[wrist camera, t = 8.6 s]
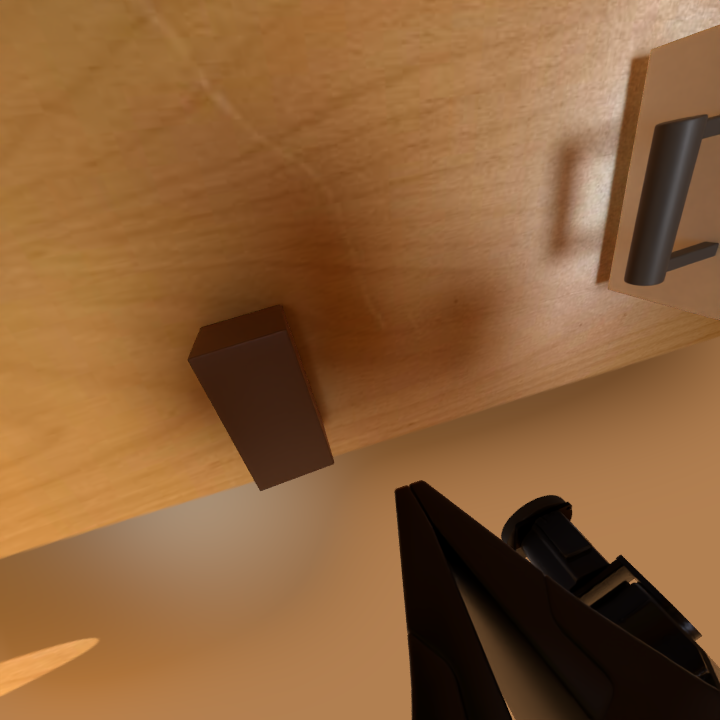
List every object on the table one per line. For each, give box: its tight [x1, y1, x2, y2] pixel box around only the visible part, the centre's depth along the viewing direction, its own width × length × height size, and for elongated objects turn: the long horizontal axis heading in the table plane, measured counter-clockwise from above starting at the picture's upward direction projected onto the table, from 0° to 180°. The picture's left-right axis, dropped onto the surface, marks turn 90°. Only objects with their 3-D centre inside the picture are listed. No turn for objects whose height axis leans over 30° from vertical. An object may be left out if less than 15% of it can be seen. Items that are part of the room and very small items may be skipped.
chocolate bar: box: [188, 305, 334, 491], centre depth 16 cm, size 4×8×4 cm, turn 12°
